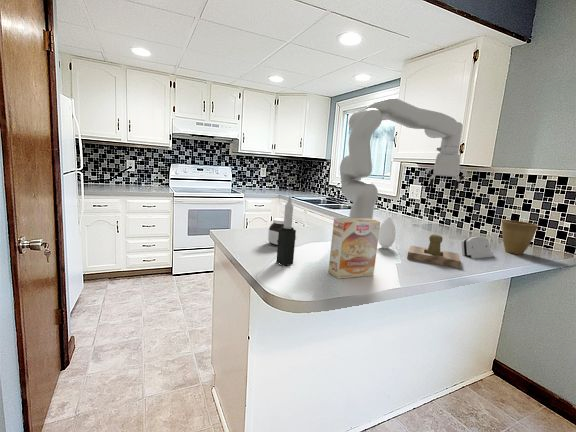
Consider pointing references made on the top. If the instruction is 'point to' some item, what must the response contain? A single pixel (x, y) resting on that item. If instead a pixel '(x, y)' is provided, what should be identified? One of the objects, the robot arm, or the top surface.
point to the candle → (286, 237)
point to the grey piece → (476, 247)
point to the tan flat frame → (434, 257)
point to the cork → (434, 244)
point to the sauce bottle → (387, 233)
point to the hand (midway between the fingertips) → (443, 189)
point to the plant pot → (517, 235)
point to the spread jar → (275, 231)
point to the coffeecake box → (353, 247)
